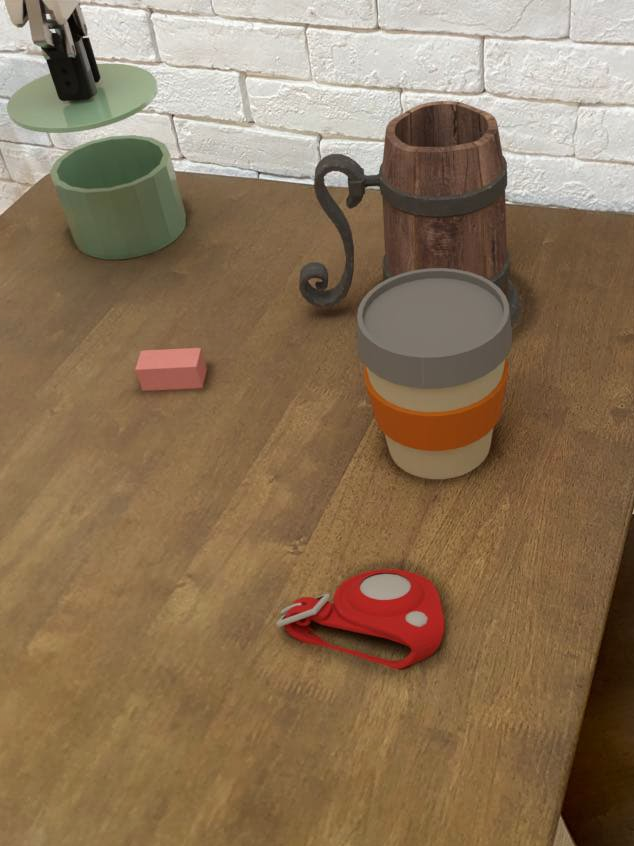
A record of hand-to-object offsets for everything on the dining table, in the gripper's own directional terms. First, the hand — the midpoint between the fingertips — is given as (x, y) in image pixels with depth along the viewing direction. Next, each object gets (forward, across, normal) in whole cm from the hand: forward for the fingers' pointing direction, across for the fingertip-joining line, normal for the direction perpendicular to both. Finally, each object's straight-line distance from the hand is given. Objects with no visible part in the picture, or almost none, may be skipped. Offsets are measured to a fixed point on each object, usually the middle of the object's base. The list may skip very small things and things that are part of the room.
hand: (80, 88), depth 92 cm
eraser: (+21, +20, +7) cm, 30 cm away
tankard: (+21, +11, +32) cm, 40 cm away
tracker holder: (+21, +51, +27) cm, 61 cm away
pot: (+21, -11, -3) cm, 24 cm away
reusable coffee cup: (+21, +32, +33) cm, 51 cm away
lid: (+1, 0, 0) cm, 1 cm away
